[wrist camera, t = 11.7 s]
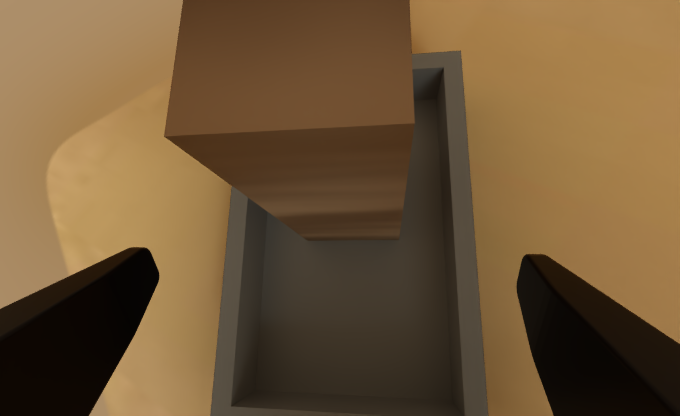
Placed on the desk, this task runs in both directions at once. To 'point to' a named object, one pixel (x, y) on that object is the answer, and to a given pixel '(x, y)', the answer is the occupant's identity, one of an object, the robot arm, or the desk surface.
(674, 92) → the desk surface
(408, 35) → the walnut block
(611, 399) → the robot arm
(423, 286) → the tray
